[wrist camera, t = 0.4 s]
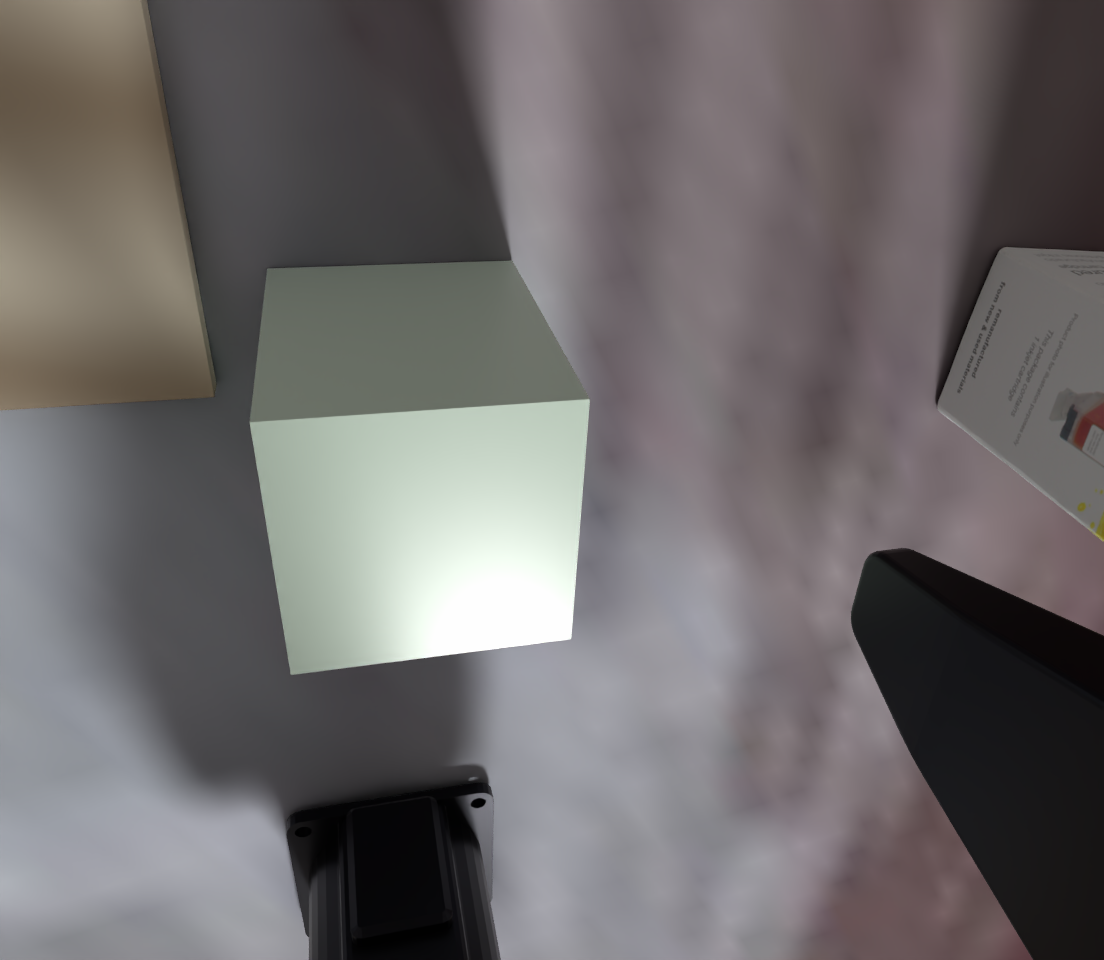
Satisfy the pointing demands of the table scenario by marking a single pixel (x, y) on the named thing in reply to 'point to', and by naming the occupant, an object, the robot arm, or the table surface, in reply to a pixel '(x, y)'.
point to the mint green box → (416, 462)
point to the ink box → (1038, 374)
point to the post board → (92, 215)
